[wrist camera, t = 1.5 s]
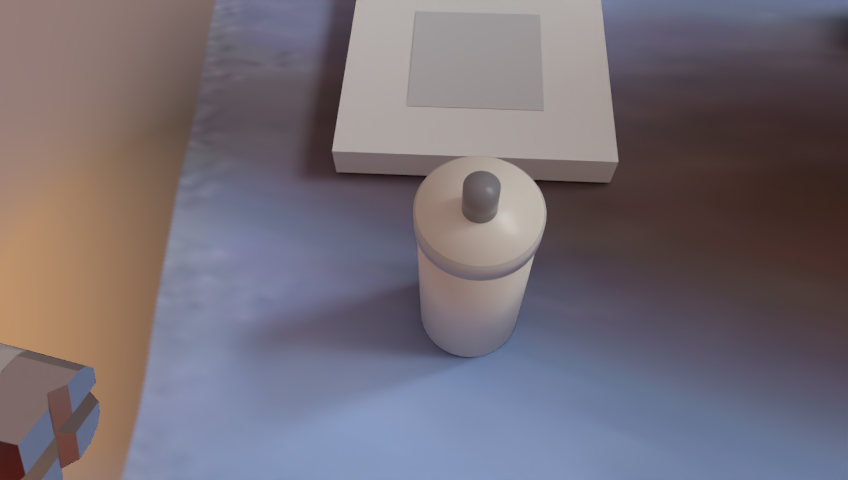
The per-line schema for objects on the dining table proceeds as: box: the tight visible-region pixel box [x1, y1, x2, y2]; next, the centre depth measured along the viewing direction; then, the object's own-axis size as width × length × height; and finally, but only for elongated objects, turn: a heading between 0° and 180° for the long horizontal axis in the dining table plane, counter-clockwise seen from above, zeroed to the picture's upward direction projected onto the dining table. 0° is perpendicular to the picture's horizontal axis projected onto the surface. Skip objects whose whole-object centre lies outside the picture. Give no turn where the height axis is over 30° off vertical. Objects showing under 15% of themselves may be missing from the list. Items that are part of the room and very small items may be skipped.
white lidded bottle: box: [413, 156, 546, 357], centre depth 29 cm, size 5×5×12 cm
